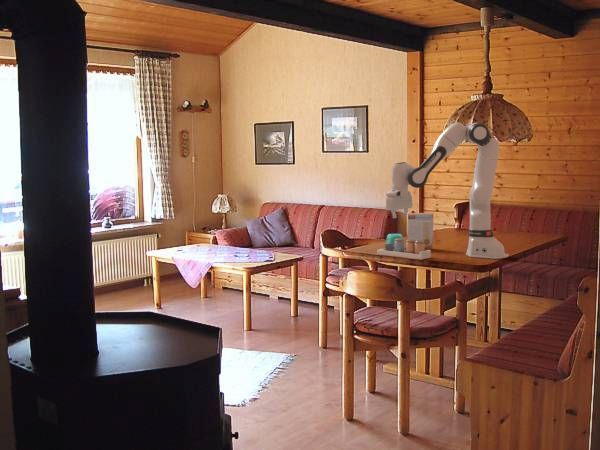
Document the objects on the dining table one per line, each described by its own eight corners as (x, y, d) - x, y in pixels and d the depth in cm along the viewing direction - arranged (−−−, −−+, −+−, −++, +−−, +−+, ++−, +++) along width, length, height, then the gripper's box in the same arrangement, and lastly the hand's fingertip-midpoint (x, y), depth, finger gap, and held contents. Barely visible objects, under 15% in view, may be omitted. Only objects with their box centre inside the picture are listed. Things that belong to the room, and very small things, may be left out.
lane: (430, 257, 378) (430, 250, 378) (421, 259, 371) (421, 252, 371) (387, 252, 398) (387, 245, 397) (377, 254, 391) (377, 247, 390)
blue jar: (398, 254, 390) (398, 238, 389) (405, 255, 386) (406, 239, 386) (392, 255, 386) (392, 239, 385) (400, 256, 383) (400, 240, 382)
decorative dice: (399, 246, 419) (399, 233, 418) (403, 248, 412) (403, 235, 411) (386, 247, 418) (386, 233, 417) (390, 249, 410) (390, 235, 409)
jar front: (426, 257, 378) (426, 241, 377) (420, 258, 374) (420, 242, 373) (417, 256, 381) (418, 240, 380) (412, 257, 377) (412, 241, 376)
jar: (417, 256, 381) (417, 240, 380) (411, 257, 378) (412, 241, 377) (409, 255, 385) (409, 239, 384) (403, 256, 381) (403, 240, 380)
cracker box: (433, 248, 410) (433, 212, 408) (431, 250, 405) (432, 213, 402) (409, 247, 415) (409, 212, 413) (407, 249, 409) (407, 213, 407)
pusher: (398, 252, 396) (398, 242, 395) (387, 254, 388) (387, 244, 387) (395, 251, 397) (395, 241, 397) (384, 254, 389) (384, 244, 389)
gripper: (405, 190, 392) (405, 215, 394) (384, 193, 378) (384, 218, 379) (415, 191, 388) (415, 216, 390) (393, 193, 373) (393, 219, 375)
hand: (399, 217), depth 384 cm, fingers open, 8 cm apart
